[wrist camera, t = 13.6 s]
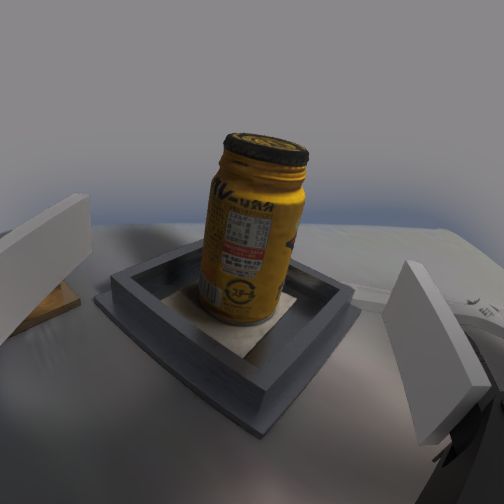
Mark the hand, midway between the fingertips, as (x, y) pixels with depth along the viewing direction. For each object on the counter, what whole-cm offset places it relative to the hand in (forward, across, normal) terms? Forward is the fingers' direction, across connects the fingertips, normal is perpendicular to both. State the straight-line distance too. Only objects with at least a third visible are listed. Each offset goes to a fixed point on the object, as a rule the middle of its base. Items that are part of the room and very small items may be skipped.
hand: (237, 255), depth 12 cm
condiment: (+8, -1, -9) cm, 12 cm away
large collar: (+8, 0, -9) cm, 12 cm away
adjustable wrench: (+14, +20, -10) cm, 26 cm away
